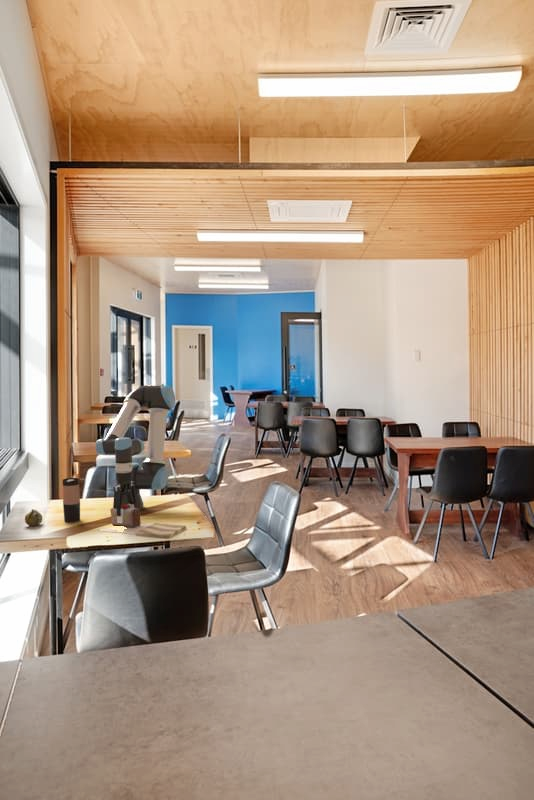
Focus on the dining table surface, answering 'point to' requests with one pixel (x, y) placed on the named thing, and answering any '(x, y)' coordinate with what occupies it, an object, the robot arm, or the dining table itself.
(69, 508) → the travel mug
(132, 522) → the food item
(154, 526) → the beige cloth
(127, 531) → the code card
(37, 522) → the onion
